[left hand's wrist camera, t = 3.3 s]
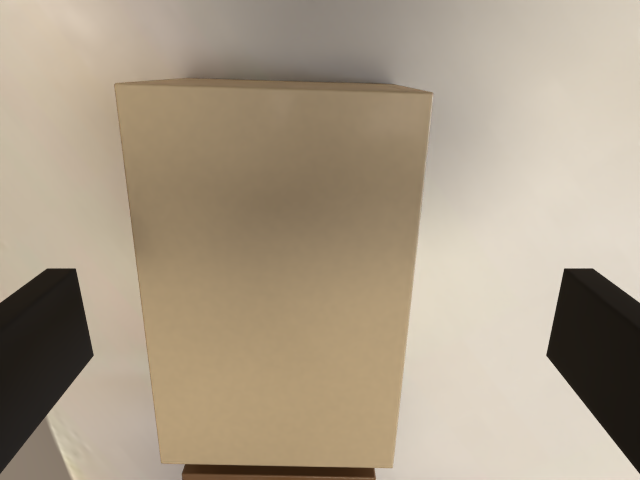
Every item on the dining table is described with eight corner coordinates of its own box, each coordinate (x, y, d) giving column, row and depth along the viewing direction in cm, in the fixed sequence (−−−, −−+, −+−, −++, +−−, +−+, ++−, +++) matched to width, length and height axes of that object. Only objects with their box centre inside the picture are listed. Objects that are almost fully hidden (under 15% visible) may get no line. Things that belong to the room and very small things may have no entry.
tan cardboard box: (372, 356, 30) (393, 469, 22) (205, 353, 30) (160, 464, 22) (394, 84, 24) (434, 92, 16) (185, 78, 24) (113, 83, 16)
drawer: (356, 468, 33) (366, 574, 26) (218, 465, 33) (191, 571, 26) (379, 160, 25) (402, 194, 18) (197, 155, 25) (151, 187, 18)
